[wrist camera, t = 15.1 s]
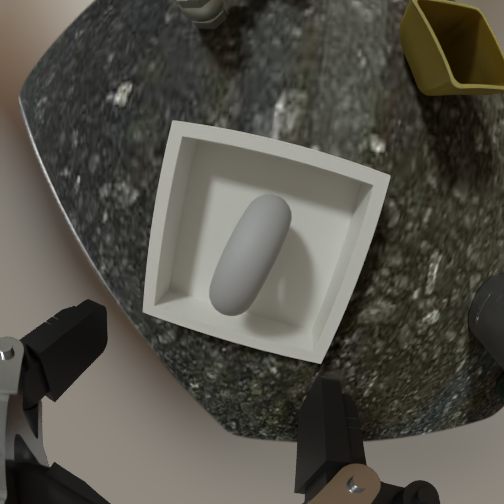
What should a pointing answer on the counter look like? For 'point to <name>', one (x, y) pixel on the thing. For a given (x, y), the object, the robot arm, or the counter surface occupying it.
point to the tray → (292, 251)
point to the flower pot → (451, 49)
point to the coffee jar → (500, 388)
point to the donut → (250, 254)
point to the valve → (204, 12)
